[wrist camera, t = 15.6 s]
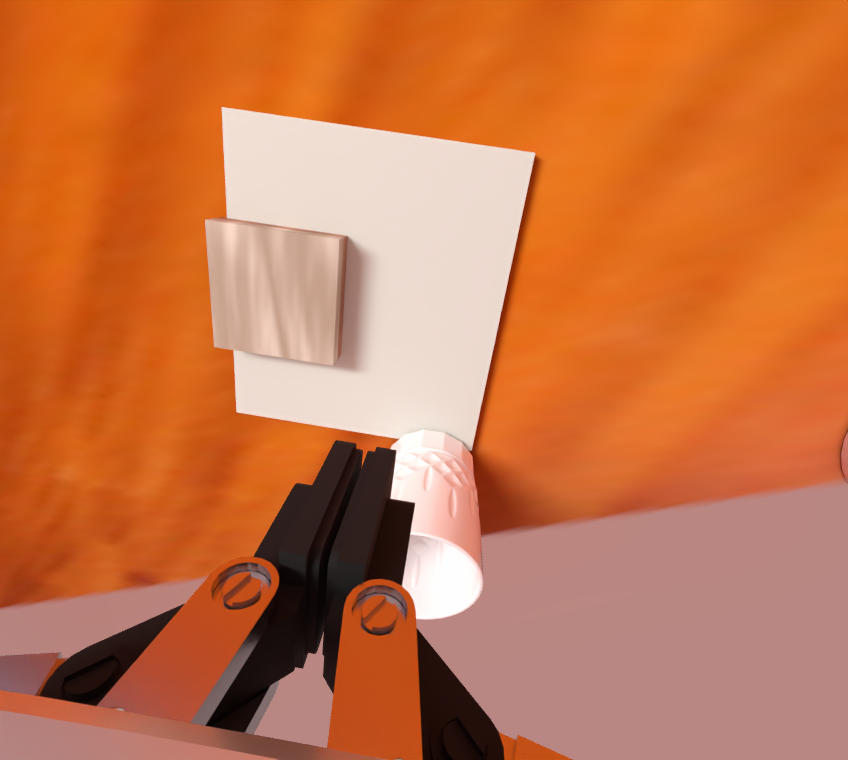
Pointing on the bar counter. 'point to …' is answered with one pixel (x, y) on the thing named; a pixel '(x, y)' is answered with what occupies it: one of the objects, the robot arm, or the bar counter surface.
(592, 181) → the bar counter surface
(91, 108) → the bar counter surface
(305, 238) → the tile
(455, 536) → the white cup
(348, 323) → the mat
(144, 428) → the bar counter surface
